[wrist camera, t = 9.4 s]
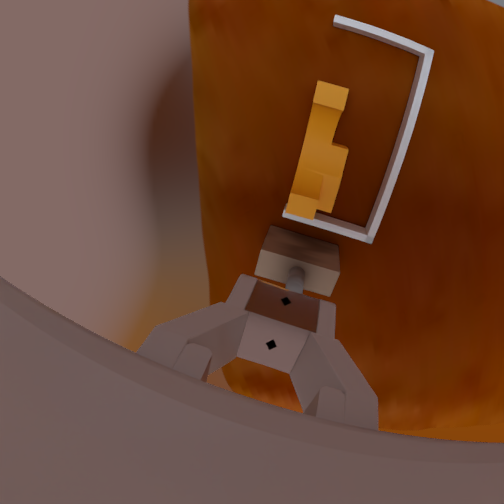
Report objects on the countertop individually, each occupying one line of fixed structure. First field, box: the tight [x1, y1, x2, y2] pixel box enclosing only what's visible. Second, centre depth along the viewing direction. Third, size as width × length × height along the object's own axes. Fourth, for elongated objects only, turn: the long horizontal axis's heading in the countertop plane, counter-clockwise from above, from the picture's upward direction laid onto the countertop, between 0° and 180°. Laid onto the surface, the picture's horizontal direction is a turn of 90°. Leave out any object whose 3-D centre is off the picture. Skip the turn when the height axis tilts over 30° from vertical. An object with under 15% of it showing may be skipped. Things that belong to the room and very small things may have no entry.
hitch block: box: [255, 225, 340, 297], centre depth 33 cm, size 8×3×9 cm, turn 78°
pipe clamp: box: [285, 81, 349, 220], centre depth 28 cm, size 12×4×6 cm, turn 169°
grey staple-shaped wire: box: [282, 15, 434, 244], centre depth 28 cm, size 10×22×2 cm, turn 168°
